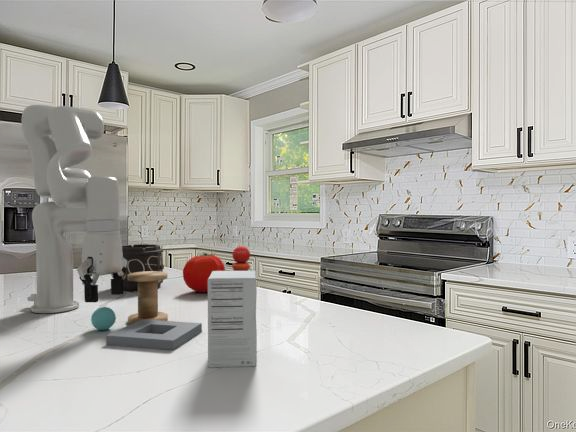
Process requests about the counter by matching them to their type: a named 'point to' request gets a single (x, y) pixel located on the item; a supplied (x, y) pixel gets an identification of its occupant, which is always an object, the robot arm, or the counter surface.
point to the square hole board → (142, 336)
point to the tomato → (201, 271)
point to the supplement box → (232, 319)
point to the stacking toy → (241, 259)
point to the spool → (147, 296)
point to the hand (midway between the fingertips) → (104, 298)
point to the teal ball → (103, 318)
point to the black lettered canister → (141, 262)
